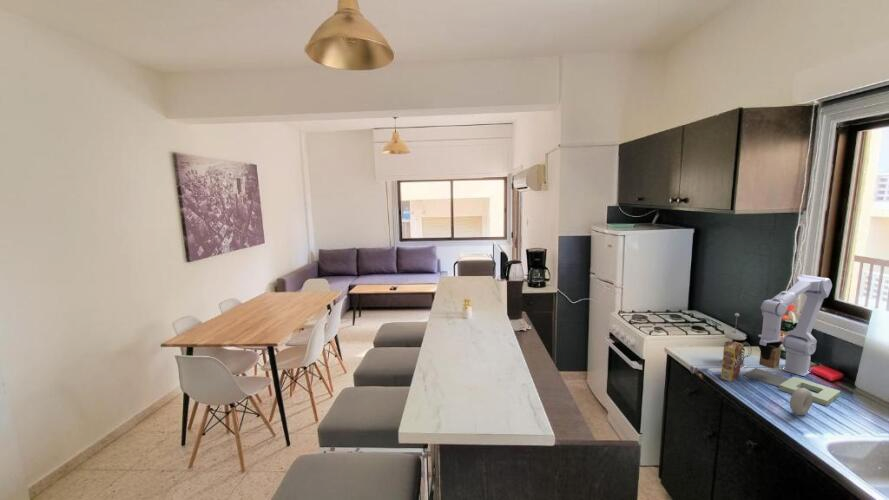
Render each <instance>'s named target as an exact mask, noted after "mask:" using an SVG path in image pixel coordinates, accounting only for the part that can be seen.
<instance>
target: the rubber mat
mask: <svg viewBox="0 0 889 500" xmlns="http://www.w3.org/2000/svg"><path fill="white" fill-rule="evenodd" d="M743 376H745V377H747V378H750V379H753V380H755V381H758V382H762V383H765V384H768V385H771V386H774V387H777V388H779V385H780V384H782V383H783V382H785V381H787V380H788V379H790V378H789V377H786V376H783V375H780V374H777V373H774V372H771V371H767V370H764V369H760V368H757V367H755V368H753V369H751V370H749V371H747V372H745V373H744V374H743Z"/></svg>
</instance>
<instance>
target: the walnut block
mask: <svg viewBox="0 0 889 500" xmlns="http://www.w3.org/2000/svg"><path fill="white" fill-rule="evenodd" d="M781 353H782V349H781V348H780V347H779V348H776V347H774V349H773V350H772V352H771V355H770V358H769V360H766V359H762V355H761V352H760V356H759V362H758V364H759V365H760V366H764V367H767V368H769V369H773V370H774V369H777V368H779V367H780V362H781V361H780V360H781Z"/></svg>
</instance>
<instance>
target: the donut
mask: <svg viewBox="0 0 889 500" xmlns="http://www.w3.org/2000/svg"><path fill="white" fill-rule="evenodd" d="M810 391H811V390H810V389H806V388H803V387H800V388H798V389H796V390H795V391H794V393H793V394H791V396H790V400H789V408H790V410H791V411H792V412H793V414H796V415H799V416H802V415H805V414H807V413H808V411H810V409H811V406H812V405H813V401H812V394H811V392H812V391H811V392H810Z"/></svg>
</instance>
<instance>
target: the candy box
mask: <svg viewBox="0 0 889 500" xmlns="http://www.w3.org/2000/svg"><path fill="white" fill-rule="evenodd" d="M729 342H730V343H729V344H727V345H726V344H724V345H725V346H724V345H723V352H724V354H723V353H722V354H723V355H722V359H723V363H721V372H720V378H721V379H722V380H725V381H728V382H733V381H734V380H735V379H736V378H738V377H739V376H740V370H741V368H740V363H741V354H743V353H742V351H743V350H742V346H743V345H744V343H743V344H742V343H741V342H737V341H735V342H734V341H729Z"/></svg>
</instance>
